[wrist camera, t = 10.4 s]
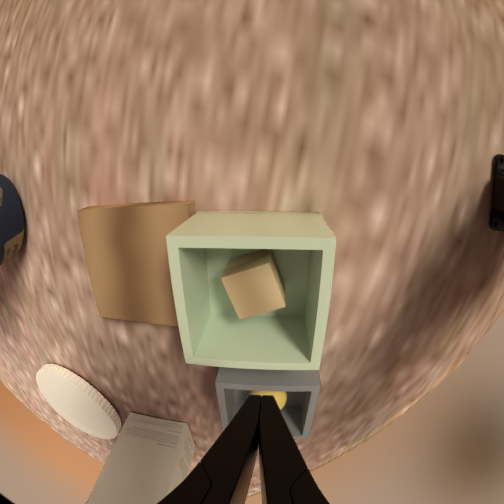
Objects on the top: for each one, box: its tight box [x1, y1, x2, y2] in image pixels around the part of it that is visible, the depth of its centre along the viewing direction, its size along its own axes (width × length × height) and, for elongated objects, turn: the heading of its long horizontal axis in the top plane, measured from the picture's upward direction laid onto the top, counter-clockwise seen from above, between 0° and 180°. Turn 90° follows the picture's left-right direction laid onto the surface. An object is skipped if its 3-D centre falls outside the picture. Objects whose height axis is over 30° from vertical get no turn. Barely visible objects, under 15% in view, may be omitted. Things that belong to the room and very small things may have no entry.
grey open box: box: [215, 367, 321, 439], centre depth 21 cm, size 8×8×4 cm
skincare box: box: [86, 412, 195, 504], centre depth 21 cm, size 8×7×16 cm
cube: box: [221, 249, 286, 319], centre depth 18 cm, size 3×3×3 cm
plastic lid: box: [36, 363, 121, 439], centre depth 28 cm, size 14×14×2 cm
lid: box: [78, 201, 195, 327], centre depth 20 cm, size 9×9×2 cm
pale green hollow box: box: [166, 211, 336, 370], centre depth 17 cm, size 8×8×6 cm
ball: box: [249, 390, 287, 410], centre depth 21 cm, size 3×3×3 cm
